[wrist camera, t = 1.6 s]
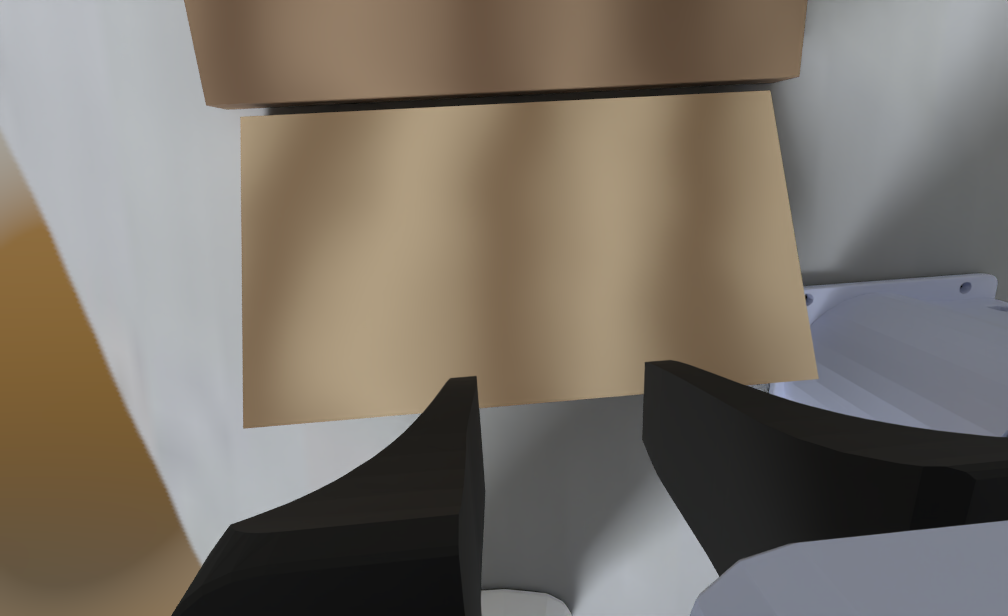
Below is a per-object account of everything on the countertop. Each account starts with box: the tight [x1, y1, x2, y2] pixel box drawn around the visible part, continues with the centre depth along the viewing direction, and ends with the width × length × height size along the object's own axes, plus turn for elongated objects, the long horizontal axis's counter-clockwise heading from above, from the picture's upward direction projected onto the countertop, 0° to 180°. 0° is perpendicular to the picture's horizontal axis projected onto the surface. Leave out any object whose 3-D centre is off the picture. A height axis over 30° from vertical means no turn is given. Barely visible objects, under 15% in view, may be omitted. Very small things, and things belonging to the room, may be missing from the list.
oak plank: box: [240, 90, 819, 428], centre depth 17 cm, size 18×10×2 cm, turn 93°
